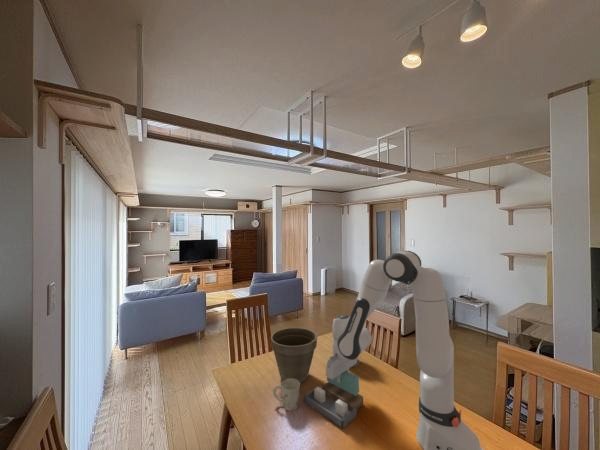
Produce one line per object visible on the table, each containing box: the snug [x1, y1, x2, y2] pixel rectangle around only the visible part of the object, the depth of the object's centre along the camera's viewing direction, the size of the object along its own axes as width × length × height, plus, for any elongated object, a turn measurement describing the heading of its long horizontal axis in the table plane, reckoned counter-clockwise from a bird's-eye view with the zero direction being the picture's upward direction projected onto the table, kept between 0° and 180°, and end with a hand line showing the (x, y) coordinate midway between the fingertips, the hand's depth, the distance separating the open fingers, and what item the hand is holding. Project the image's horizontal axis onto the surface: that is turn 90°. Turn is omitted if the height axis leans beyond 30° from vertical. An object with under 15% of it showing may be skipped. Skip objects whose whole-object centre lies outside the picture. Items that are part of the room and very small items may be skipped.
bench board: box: [320, 381, 364, 411], centre depth 116 cm, size 18×8×4 cm, turn 44°
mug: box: [272, 378, 301, 412], centre depth 112 cm, size 8×13×10 cm, turn 78°
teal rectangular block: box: [326, 371, 360, 395], centre depth 117 cm, size 16×3×7 cm, turn 45°
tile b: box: [313, 386, 325, 403], centre depth 115 cm, size 4×4×2 cm
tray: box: [303, 385, 358, 430], centre depth 110 cm, size 22×10×3 cm, turn 44°
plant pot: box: [270, 327, 318, 384], centre depth 135 cm, size 25×25×22 cm
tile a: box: [335, 399, 348, 418], centre depth 106 cm, size 4×4×2 cm
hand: (342, 379), depth 117 cm, fingers closed on teal rectangular block, 3 cm apart
